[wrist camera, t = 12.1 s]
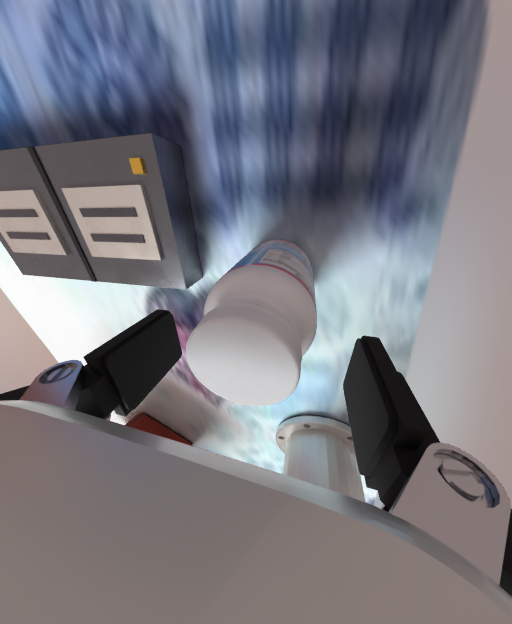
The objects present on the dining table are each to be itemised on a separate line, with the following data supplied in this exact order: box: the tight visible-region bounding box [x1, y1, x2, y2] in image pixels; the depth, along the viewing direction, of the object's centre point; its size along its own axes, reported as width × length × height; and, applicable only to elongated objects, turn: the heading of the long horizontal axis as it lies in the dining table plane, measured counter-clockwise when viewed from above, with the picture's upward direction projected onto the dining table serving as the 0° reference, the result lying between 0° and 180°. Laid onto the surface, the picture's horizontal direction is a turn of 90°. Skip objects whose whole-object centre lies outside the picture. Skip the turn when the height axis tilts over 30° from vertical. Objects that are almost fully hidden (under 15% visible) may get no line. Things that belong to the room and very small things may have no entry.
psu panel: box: [0, 133, 203, 289], centre depth 17 cm, size 20×10×3 cm, turn 91°
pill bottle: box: [186, 240, 317, 406], centre depth 12 cm, size 6×6×11 cm
